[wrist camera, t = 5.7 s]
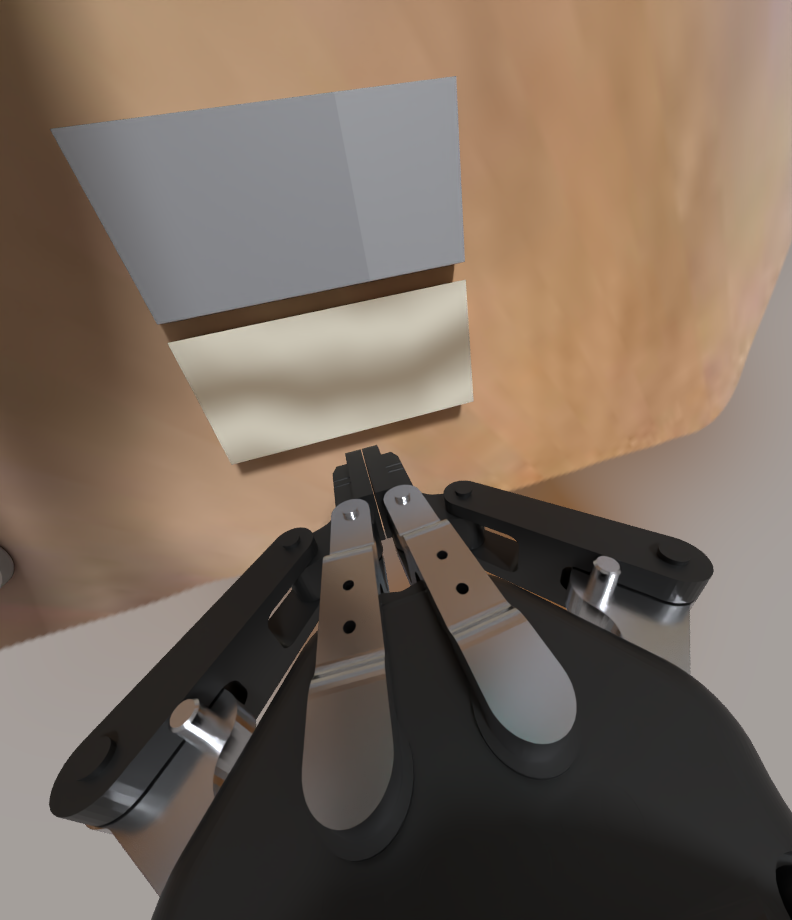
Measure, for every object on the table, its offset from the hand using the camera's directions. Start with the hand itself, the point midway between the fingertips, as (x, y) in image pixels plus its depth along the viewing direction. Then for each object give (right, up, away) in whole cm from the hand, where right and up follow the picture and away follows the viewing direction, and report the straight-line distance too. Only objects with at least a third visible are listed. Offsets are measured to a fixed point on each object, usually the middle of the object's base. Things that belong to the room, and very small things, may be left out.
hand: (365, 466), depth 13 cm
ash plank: (-2, +6, +7) cm, 10 cm away
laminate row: (-4, +14, +3) cm, 15 cm away
